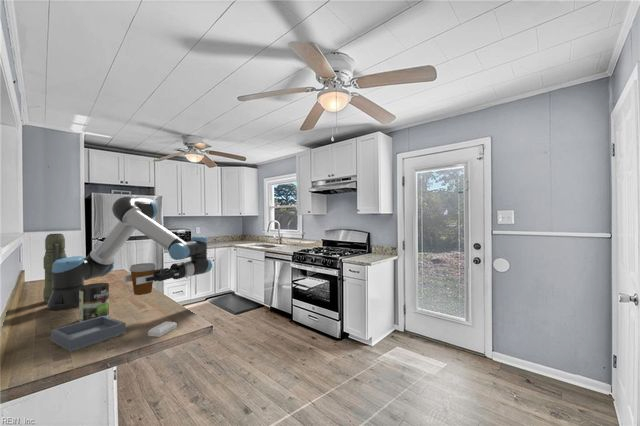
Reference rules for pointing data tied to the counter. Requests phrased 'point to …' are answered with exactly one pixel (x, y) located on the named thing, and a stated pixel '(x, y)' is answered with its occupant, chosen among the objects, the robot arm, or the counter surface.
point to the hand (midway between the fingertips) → (130, 280)
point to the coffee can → (93, 301)
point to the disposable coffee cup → (141, 271)
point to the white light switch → (162, 329)
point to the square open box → (87, 332)
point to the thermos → (52, 260)
